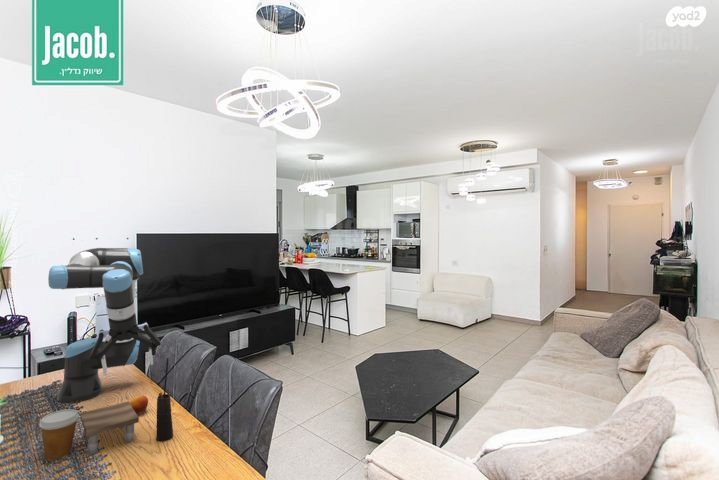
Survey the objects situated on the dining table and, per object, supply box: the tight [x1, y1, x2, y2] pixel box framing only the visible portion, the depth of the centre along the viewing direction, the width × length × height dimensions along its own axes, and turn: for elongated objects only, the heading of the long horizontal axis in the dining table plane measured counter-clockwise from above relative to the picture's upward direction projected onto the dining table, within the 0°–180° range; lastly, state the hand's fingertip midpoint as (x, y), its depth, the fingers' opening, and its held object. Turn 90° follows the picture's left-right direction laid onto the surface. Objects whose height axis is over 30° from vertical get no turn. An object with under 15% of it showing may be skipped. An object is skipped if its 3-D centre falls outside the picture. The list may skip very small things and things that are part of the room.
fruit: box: [127, 394, 149, 417], centre depth 136 cm, size 8×8×8 cm
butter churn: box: [155, 358, 174, 443], centre depth 121 cm, size 9×10×28 cm
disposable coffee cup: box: [39, 408, 80, 461], centre depth 110 cm, size 10×10×12 cm
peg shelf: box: [79, 400, 140, 456], centre depth 119 cm, size 16×14×8 cm
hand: (129, 367), depth 122 cm, fingers open, 13 cm apart
